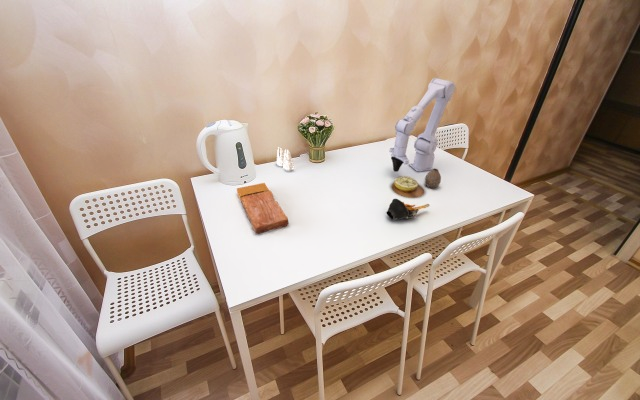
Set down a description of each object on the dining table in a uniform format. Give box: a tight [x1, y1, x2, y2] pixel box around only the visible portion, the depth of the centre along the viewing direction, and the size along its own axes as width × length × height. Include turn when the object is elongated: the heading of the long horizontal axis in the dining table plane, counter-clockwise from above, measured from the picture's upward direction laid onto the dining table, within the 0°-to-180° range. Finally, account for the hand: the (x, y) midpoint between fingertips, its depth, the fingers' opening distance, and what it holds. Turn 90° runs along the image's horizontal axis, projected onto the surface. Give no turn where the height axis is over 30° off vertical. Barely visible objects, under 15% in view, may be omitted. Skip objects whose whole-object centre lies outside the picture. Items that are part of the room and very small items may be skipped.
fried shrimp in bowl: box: [386, 198, 430, 221], centre depth 116 cm, size 9×11×18 cm
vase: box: [424, 168, 442, 189], centre depth 136 cm, size 7×7×9 cm
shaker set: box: [276, 146, 296, 172], centre depth 146 cm, size 12×4×11 cm, turn 38°
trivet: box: [391, 182, 425, 199], centre depth 135 cm, size 15×15×1 cm
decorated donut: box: [393, 175, 419, 192], centre depth 135 cm, size 10×11×4 cm
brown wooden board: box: [236, 182, 289, 235], centre depth 117 cm, size 13×30×3 cm, turn 26°
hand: (395, 170), depth 143 cm, fingers closed
